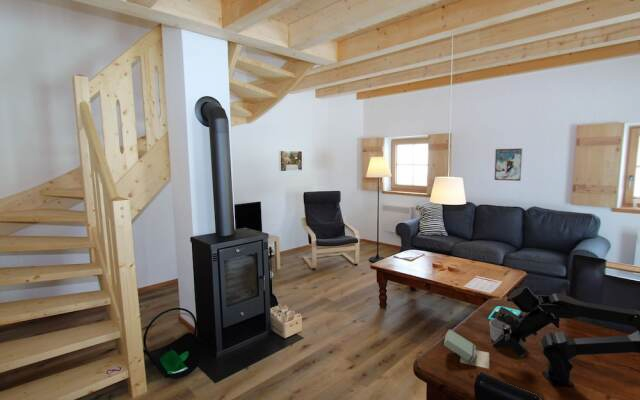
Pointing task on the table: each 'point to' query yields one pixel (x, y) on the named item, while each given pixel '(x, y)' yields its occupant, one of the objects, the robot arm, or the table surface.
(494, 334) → the teacup
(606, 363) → the table surface
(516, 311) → the handheld game console
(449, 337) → the pale mint rectangular box
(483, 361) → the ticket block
